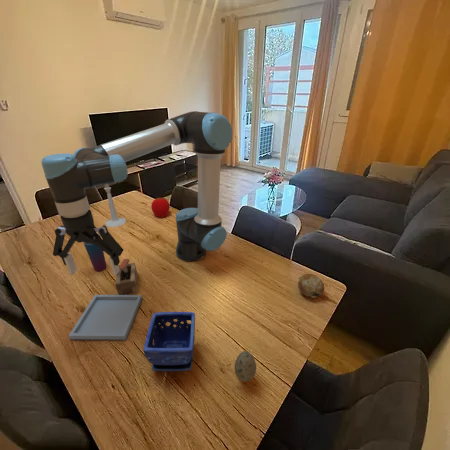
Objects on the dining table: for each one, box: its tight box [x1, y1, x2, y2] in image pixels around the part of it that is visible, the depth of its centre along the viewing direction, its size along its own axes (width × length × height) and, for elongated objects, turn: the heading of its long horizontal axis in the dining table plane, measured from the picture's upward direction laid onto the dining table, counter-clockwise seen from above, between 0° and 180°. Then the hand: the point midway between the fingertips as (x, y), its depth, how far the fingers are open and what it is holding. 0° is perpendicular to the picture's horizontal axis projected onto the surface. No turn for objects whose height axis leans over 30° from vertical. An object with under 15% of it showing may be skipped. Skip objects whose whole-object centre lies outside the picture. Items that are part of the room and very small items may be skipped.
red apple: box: [151, 197, 171, 218], centre depth 156 cm, size 11×11×13 cm
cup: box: [82, 237, 107, 272], centre depth 109 cm, size 7×7×15 cm
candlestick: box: [103, 184, 127, 228], centre depth 143 cm, size 13×13×30 cm
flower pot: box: [143, 311, 196, 372], centre depth 73 cm, size 13×13×12 cm
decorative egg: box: [234, 350, 257, 382], centre depth 68 cm, size 6×6×10 cm
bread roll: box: [297, 273, 325, 299], centre depth 98 cm, size 10×10×8 cm
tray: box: [68, 294, 143, 341], centre depth 87 cm, size 18×18×2 cm
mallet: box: [119, 258, 131, 280], centre depth 102 cm, size 3×6×10 cm, turn 0°
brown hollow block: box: [114, 262, 138, 295], centre depth 102 cm, size 12×7×6 cm, turn 17°
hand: (95, 272), depth 78 cm, fingers open, 13 cm apart
